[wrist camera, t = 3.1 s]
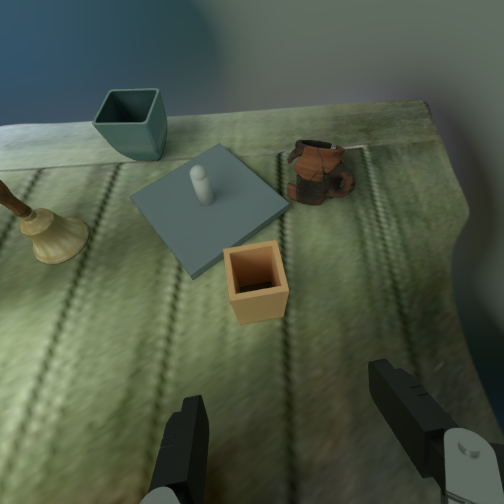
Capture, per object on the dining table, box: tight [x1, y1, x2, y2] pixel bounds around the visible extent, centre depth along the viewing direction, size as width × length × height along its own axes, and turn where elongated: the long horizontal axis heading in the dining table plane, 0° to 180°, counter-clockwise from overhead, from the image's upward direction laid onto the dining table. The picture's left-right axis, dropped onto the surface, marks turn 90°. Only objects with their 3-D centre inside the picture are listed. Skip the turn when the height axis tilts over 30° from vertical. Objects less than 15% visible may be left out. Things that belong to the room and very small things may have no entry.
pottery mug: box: [287, 140, 356, 205], centre depth 41 cm, size 12×10×8 cm
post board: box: [130, 143, 289, 280], centre depth 38 cm, size 18×18×8 cm
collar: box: [223, 240, 289, 325], centre depth 30 cm, size 6×6×10 cm
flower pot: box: [92, 88, 167, 160], centre depth 45 cm, size 9×9×9 cm
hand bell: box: [0, 180, 89, 264], centre depth 33 cm, size 8×8×16 cm
